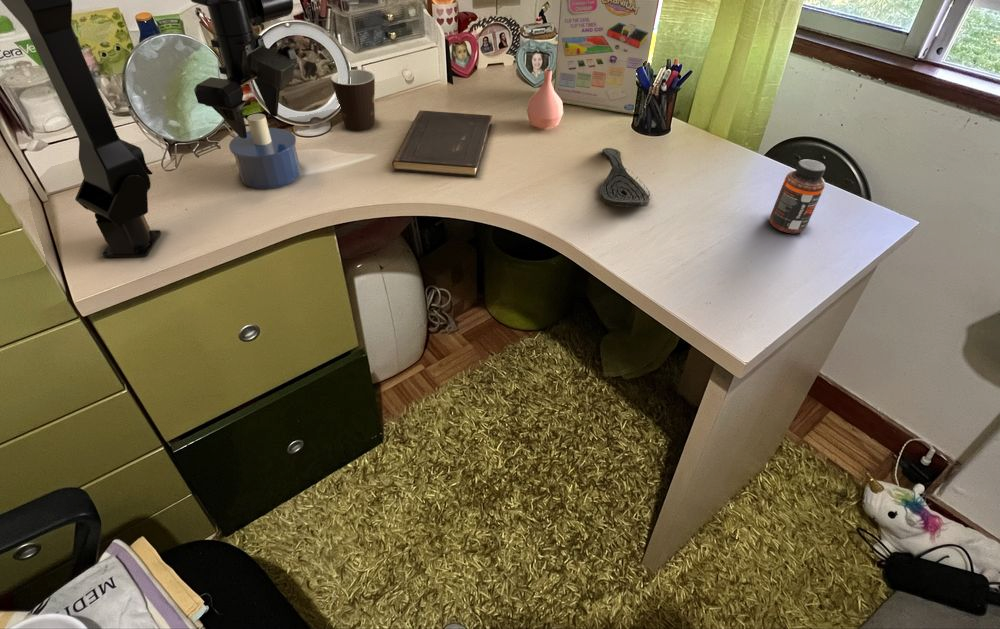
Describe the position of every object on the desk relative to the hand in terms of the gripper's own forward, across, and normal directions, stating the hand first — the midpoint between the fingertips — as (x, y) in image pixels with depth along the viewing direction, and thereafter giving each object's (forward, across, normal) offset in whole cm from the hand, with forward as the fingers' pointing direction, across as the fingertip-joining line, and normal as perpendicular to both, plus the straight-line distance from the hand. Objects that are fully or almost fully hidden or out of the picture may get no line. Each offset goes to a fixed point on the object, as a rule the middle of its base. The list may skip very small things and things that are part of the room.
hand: (259, 126), depth 101 cm
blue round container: (+9, 0, 0) cm, 9 cm away
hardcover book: (+10, +21, -26) cm, 35 cm away
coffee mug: (+10, +26, -5) cm, 28 cm away
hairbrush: (+10, +18, -62) cm, 65 cm away
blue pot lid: (+3, 0, 0) cm, 3 cm away
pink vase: (+10, +37, -43) cm, 57 cm away
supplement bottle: (+10, +13, -91) cm, 92 cm away
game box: (+10, +53, -52) cm, 75 cm away
